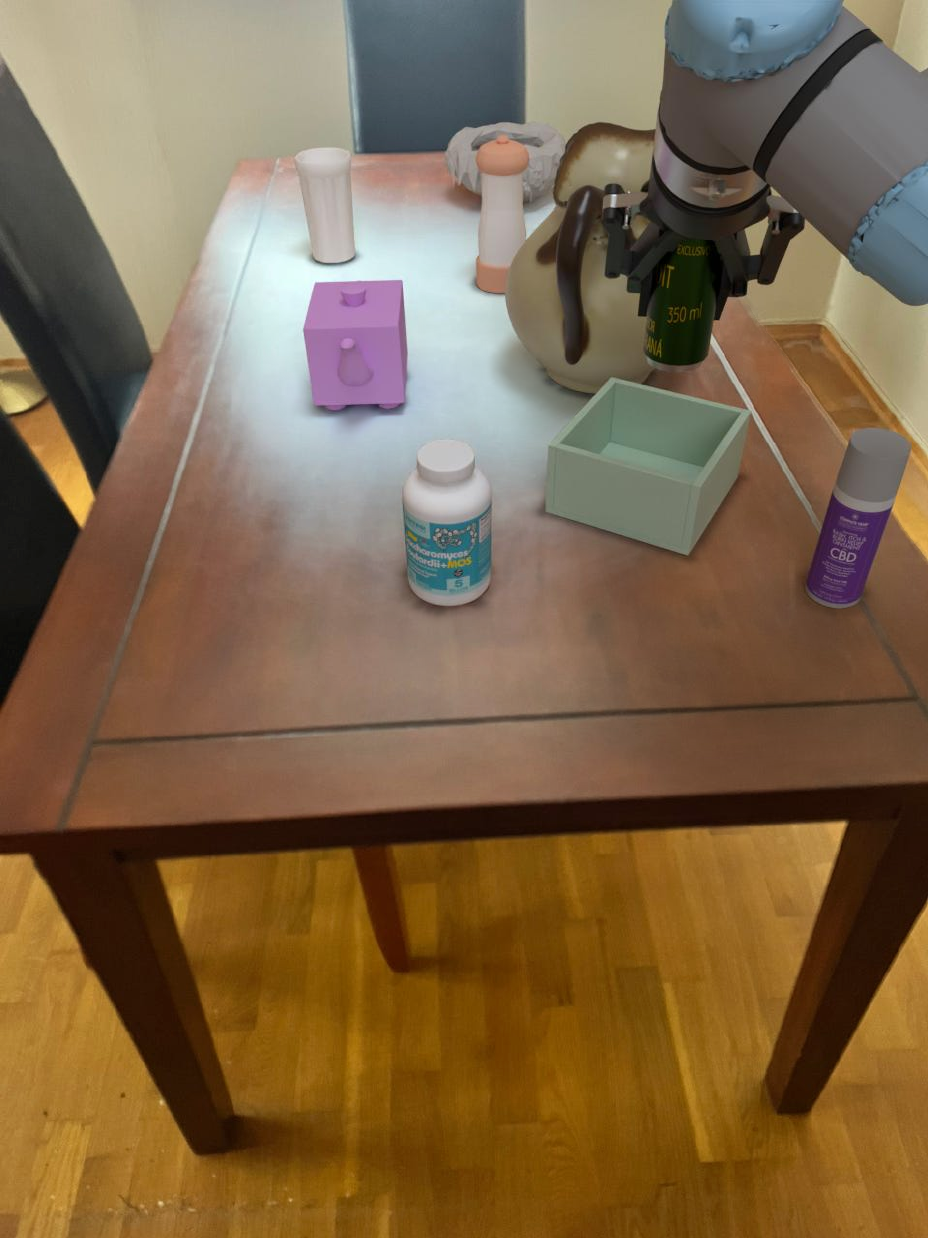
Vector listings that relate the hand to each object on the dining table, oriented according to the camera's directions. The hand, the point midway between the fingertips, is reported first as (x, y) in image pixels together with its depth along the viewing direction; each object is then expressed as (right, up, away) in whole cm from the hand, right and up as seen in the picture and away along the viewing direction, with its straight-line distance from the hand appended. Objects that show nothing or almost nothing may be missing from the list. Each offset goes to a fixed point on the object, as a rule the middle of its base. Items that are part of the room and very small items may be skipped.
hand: (679, 302), depth 78 cm
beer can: (-1, -5, 0) cm, 5 cm away
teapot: (-30, -1, +30) cm, 42 cm away
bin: (0, -14, +14) cm, 20 cm away
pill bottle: (-20, -24, +5) cm, 31 cm away
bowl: (-11, +45, +79) cm, 91 cm away
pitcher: (-2, +2, +33) cm, 33 cm away
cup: (-38, +28, +61) cm, 77 cm away
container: (+14, -25, +3) cm, 28 cm away
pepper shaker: (-13, +21, +53) cm, 58 cm away
